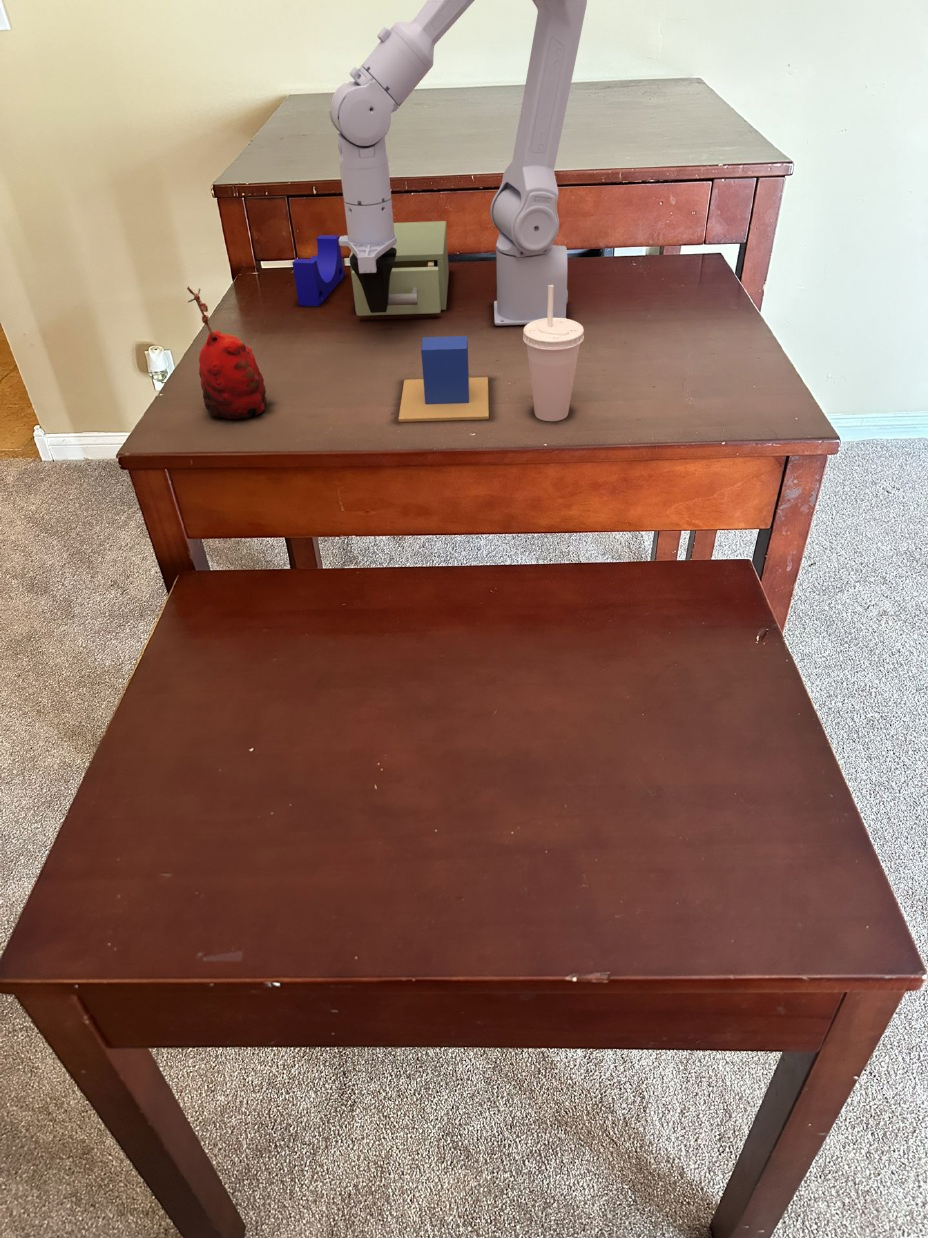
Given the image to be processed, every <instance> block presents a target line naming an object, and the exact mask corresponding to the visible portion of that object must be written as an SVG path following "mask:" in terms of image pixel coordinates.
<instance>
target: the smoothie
mask: <svg viewBox="0 0 928 1238" xmlns="http://www.w3.org/2000/svg"><path fill="white" fill-rule="evenodd" d="M553 289H554V286H553V285H548V316H547V318H543V319H538V320H535V321H532V322H530V323H529V324H527V325H524V327H523V330H522V331H523V332H522V333H523V335H522V340H523V342H524V343H525V344H526V352H527V360H528V361H527V362H528V369H529V377H530V385H531V393H532V402H533V410H534V411H533V412H534V416H535V417H536V418H537V419H539V420H541V421H545V422H559V421H561V420H564V419H566V418H567V417H568V415H569V411H570V404H571V399H572V393H573V387H574V381H575V375H576V369H577V364H578V358H579V353H580V345H581V343H582V342H584V339H585V335H584V332H585V328H584V326H583V325H582V324H581V323H580V322H577V321H576V320H574V319H570V318H566V319H565V318H553Z"/></svg>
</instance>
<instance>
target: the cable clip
mask: <svg viewBox="0 0 928 1238" xmlns="http://www.w3.org/2000/svg"><path fill="white" fill-rule="evenodd" d="M339 238H340V235H328V234H327V235H324V234H323V235H322V234H320V235H319V236H317V238H316V246H317V248H316V249H317V255H312V256H311V257H310V258H295V259H294V260H293V261H292V262H291V263H292V269H293V276H294V282H295V288H296V293H297V302H298V306H301V307H302V306H304V307H320V306H321V305H322V304H323V302H324V301H325V300H326V299H327V298H328V297H329V296H330V294H331V293H332V292H333V291H334V290H335V288H336V287H337V286H338V285H339V284H340V282H342V280H343V279H344V278H345V272H344V271H345V270H344V265H343V264H344V263H343V257H342V255H343V254H342V248H341V247H342V246H340V245H339Z"/></svg>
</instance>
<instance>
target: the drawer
mask: <svg viewBox="0 0 928 1238" xmlns="http://www.w3.org/2000/svg"><path fill="white" fill-rule="evenodd" d="M352 279H353V284H352V289H353V288H354V293H353V297H354V296H355V301H354V306H355V305H356V310H355V313H356V316H357V317H359V316H361V317H362V316H390V315H393V316H394V315H420V314H425V315H426V314H441V311H442V310H441V306H440V288H439V271H438V262H437V260H420V261H395V263H394V265H393V268H392V271H391V275H390V285H389V299H388V306H387V311H386V312H382V313H371V312H370V309H369V307H368V304H367V301H366V298H365V294H364V291H363V288H362V286H361V283H360V281H359V279H358V277H357V275H356V274H355V272H354V271H352V276H351V280H352Z"/></svg>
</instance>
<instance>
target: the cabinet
mask: <svg viewBox="0 0 928 1238" xmlns="http://www.w3.org/2000/svg"><path fill="white" fill-rule="evenodd" d="M393 223H394V233H395V234H396V239H397V242H396V244H395V245H394V246H393V248H396V250H397V254H396V259H395V261H420V260H437V262H438V271H439V288H440V306H441V311H446V310H447V301H448V298H447V297H448V287H449V276H450V275H449V270H450V269H449V251H448V232H447V231H448V229H447V221H446V220H437V221H436V220H435V221H434V220H433V221H413V222H412V221H411V222H410V221H409V222H408V221H407V222H393ZM352 254H353V252H352V251H351V250H350V254H349V257H348V258H349V260H350V257H351V256H352ZM349 266H350V265H349ZM352 271H353V270H352V268H351V266H350V275H351V277H352ZM351 284H352V285H353V279H352V278H351ZM352 292H353V294H354V288H353V287H352ZM353 300H354V301H353V302H355V296H354V295H353ZM354 308H355V309H354V310H355V311H356V305H355V304H354Z"/></svg>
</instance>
